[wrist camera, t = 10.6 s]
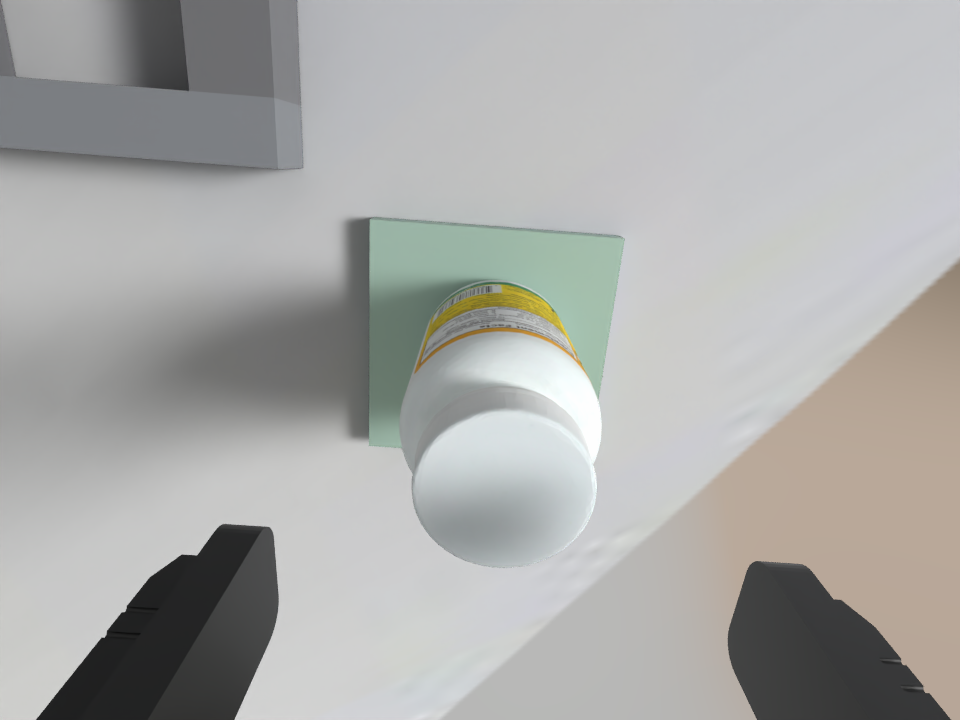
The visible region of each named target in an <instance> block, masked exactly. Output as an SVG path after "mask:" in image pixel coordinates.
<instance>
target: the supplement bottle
mask: <svg viewBox="0 0 960 720" xmlns="http://www.w3.org/2000/svg"><path fill="white" fill-rule="evenodd" d="M601 430H602V422H601V413H600V406H599V403H598V399H597V396H596V394H595V391H594V389H593V386H592V383H591V381H590V379H589V377H588V375H587V373H586V371H585V369H584V367H583V365H582V363H581V361H580V359H579V357H578V355H577V353H576V351H575V349H574V347H573V345H572V343H571V341H570V339H569V336H568V334H567V333H566V331H565V328H564V326H563V325H562V323H561V320H560V318H559V317H558V315H557V313H556V312H555V310H554V309H553V307H552V306H551V305H550V303H549V302H548V301H547V300H546V299H545V298H544V297H542V296H541V295H540V294H539V293H537V292H535V291H534V290H532V289H530V288H528V287H526V286H524V285H521V284H519V283H515V282H511V281H505V280H486V281H480V282H476V283H472V284H470V285H467V286H465V287H462V288H460V289H459V290H457V291H455V292H454V293H452V294H451V295H450V296H449V297H447V298H446V299H445V300H444V301H443V302H442V303H441V304H440V305H439V306H438V308H437V309H436V310H435V312H434V313H433V315H432V317H431V319H430V321H429V323H428V326H427V328H426V332H425V335H424V338H423V341H422V344H421V347H420V350H419V353H418V357H417V360H416V363H415V366H414V369H413V372H412V375H411V378H410V381H409V384H408V387H407V390H406V393H405V396H404V399H403V402H402V406H401V412H400V421H399V432H400V440H401V446H402V450H403V453H404V456H405V459H406V461H407V464H408V466H409V468H410V470H411V472H412V473H413V476H412V497H413V503H414V507H415V511H416V513H417V516H418V518H419V520H420V522H421V524H422V526H423V527H424V529H425V530H426V532H427V533H428V534H429V536H430V537H431V538H432V539H433V540H434V541H435V542H436V543H437V544H438V545H440V546H441V547H442V548H444V549H445V550H446V551H448V552H450V553H451V554H453V555H454V556H456V557H458V558H461V559H463V560H465V561H468V562H471V563H474V564H478V565H482V566H488V567H498V568H512V567H523V566H528V565H531V564H534V563H537V562H540V561H543V560H545V559H548V558H550V557H551V556H553V555H555V554H557V553H559V552H561V551H562V550H563V549H565V548H566V547H567V546H568V545H570V544H571V543H572V542H573V541H574V540H575V539H576V538H577V537H578V536H579V534H580V533H581V532H582V530H583V529H584V528H585V526H586V524H587V523H588V521H589V519H590V516H591V514H592V511H593V508H594V505H595V500H596V491H597V483H596V474H595V469H594V465H593V463H594V461H595V459H596V456H597V453H598V450H599V446H600V440H601Z"/></svg>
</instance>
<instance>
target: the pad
mask: <svg viewBox="0 0 960 720" xmlns="http://www.w3.org/2000/svg"><path fill="white" fill-rule="evenodd" d="M624 240H625V239H624V238H622V237H621V236H616V235H602V234H589V233H576V232H563V231H550V230H537V229H524V228H510V227H497V226H484V225H471V224H458V223H445V222H432V221H418V220H405V219H392V218H379V217H373V218H371V219H370V258H369V446H379V447H394V448H402V446H401V440H400V432H399V421H400V412H401V406H402V402H403V399H404V396H405V393H406V390H407V387H408V384H409V381H410V378H411V375H412V372H413V369H414V366H415V363H416V360H417V357H418V353H419V350H420V347H421V344H422V341H423V338H424V335H425V332H426V328H427V326H428V323H429V321H430V319H431V317H432V315H433V313H434V312H435V310H436V309H437V308H438V306H439V305H440V304H441V303H442V302H443V301H444V300H445V299H446V298H447V297H449V296H450V295H451V294H452V293H454V292H455V291H457V290H459V289H460V288H462V287H465V286H467V285H470V284H472V283H476V282H480V281H486V280H505V281H511V282H515V283H519V284H521V285H524V286H526V287H528V288H530V289H532V290H534V291H535V292H537V293H539V294H540V295H541V296H542V297H544V298H545V299H546V300H547V301H548V302H549V303H550V305H551V306H552V307H553V309H554V310H555V312H556V313H557V315H558V317H559V318H560V320H561V323H562V325H563V326H564V328H565V331H566V333H567V334H568V336H569V339H570V341H571V343H572V345H573V347H574V349H575V351H576V353H577V355H578V357H579V359H580V361H581V363H582V365H583V367H584V369H585V371H586V373H587V375H588V377H589V379H590V381H591V383H592V386H593V389H594V391H595V394H596V396H597V399H598V398H599V392H600V386H601V380H602V374H603V368H604V362H605V356H606V350H607V344H608V338H609V332H610V325H611V319H612V313H613V307H614V301H615V295H616V289H617V283H618V277H619V271H620V265H621V259H622V253H623V246H624Z"/></svg>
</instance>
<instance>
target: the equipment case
mask: <svg viewBox="0 0 960 720" xmlns="http://www.w3.org/2000/svg"><path fill="white" fill-rule="evenodd" d="M180 6H181V16H182V25H183V35H184V45H185V55H186V64H187V74H188V84H189V91H183V90H171V89H159V88H146V87H134V86H121V85H109V84H96V83H84V82H72V81H59V80H47V79H34V78H22V77H16V75H15V70H14V65H13V60H12V55H11V50H10V45H9V40H8V35H7V30H6V25H5V20H4V15H3V10H2V5H1V0H0V148H12V149H25V150H38V151H51V152H64V153H77V154H90V155H103V156H115V157H128V158H141V159H154V160H167V161H180V162H193V163H205V164H218V165H231V166H244V167H257V168H270V169H293V168H303V149H302V123H301V96H300V70H299V43H298V17H297V0H180Z"/></svg>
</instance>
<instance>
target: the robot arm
mask: <svg viewBox="0 0 960 720" xmlns="http://www.w3.org/2000/svg"><path fill="white" fill-rule="evenodd" d="M278 602H279V598H278V584H277V572H276V560H275V547H274V536H273V532H272V530H271V528H269V527H261V526H246V525H231V524H223V525H221V526H219V527H218V528H217V529H216V531H215V532H214V533H213V535H212V536H211V537H210V539H209V540H208V542H207V543H206V544H205V546H204V547H203V548H202V550H201V551H200V553H199V554H198V555H197V556H195V555H181V556H179V557H178V558H177V559H175V560H174V561H172V562H171V563H170V564H168V565H167V566H165V567H164V568H163V569H161V570H160V571H158V572H157V573H156V574H154V575H153V576H151V577H150V578H149V579H148V580H147V582H146V583H145V584H144V585H143V587H142V588H141V589H140V590H139V592H138V593H137V594H136V595H135V597H134V598H133V599H132V600H131V602H130V603H129V604H128V605H127V609H126V612H122V613H121V614H120V615H119V617H118V618H117V619H116V620H115V622H114V623H113V624H112V625H111V627H110V628H109V629H108V630H107V635H106V637H105V638H101V639H100V640H99V642H98V643H97V644H96V645H95V647H94V648H93V649H92V650H91V652H90V653H89V654H88V655H87V657H86V658H85V659H84V660H83V662H82V663H81V664H80V665H79V667H78V668H77V669H76V670H75V672H74V673H73V674H72V675H71V677H70V678H69V679H68V680H67V682H66V683H65V684H64V685H63V687H62V688H61V689H60V690H59V692H58V693H57V694H56V695H55V697H54V698H53V699H52V700H51V702H50V703H49V704H48V705H47V707H46V708H45V709H44V710H43V712H42V713H41V714H40V715H39V717H38V718H37V719H36V720H234V719H235V717H236V715H237V713H238V710H239V708H240V706H241V704H242V701H243V699H244V697H245V695H246V692H247V690H248V688H249V686H250V684H251V681H252V679H253V677H254V675H255V672H256V670H257V668H258V666H259V664H260V661H261V659H262V657H263V655H264V652H265V650H266V648H267V646H268V644H269V641H270V639H271V636H272V633H273V630H274V627H275V623H276V618H277V613H278ZM728 650H729V656H730V660H731V664H732V667H733V669H734V672H735V674H736V676H737V679H738V681H739V683H740V685H741V687H742V689H743V691H744V693H745V695H746V697H747V700H748V702H749V704H750V706H751V708H752V710H753V712H754V714H755V716H756V718H757V720H951V719H950V718H949V717H948V716H947V714H946V713H945V712H944V711H943V709H942V708H941V707H940V706H939V705H938V703H937V702H936V701H935V700H934V698H933V697H932V696H931V695H930V694H929V693H925V692H924V690H923V685H922V684H921V683H920V681H919V680H918V679H917V678H916V676H915V675H914V674H913V673H912V672H911V670H910V669H909V668H908V667H907V666H906V665H902V663H901V658H900V657H899V656H898V654H897V653H896V652H895V651H894V650H893V648H892V647H891V646H890V645H889V644H888V642H887V641H886V640H885V639H884V638H883V636H882V635H881V634H880V633H879V631H878V630H877V629H876V628H875V627H874V626H873V625H872V624H871V623H869V622H868V621H867V620H865V619H864V618H863V617H862V616H860V615H859V614H858V613H857V612H855V611H854V610H853V609H851V608H850V607H849V606H848V605H847V604H845V603H844V602H843V601H841V600H834V599H833V598H832V597H831V596H830V594H829V593H828V592H827V591H826V589H825V588H824V587H823V585H822V584H821V583H820V582H819V580H818V579H817V578H816V576H815V575H814V574H813V572H812V571H811V570H810V569H809V568H807V567H806V566H804V565H802V564H791V563H776V562H775V563H774V562H761V561H756V562H753V563H752V564H751V565H750V566H749V568H748V570H747V573H746V576H745V579H744V582H743V585H742V589H741V592H740V595H739V598H738V601H737V605H736V608H735V611H734V614H733V618H732V621H731V624H730V627H729V632H728Z"/></svg>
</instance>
